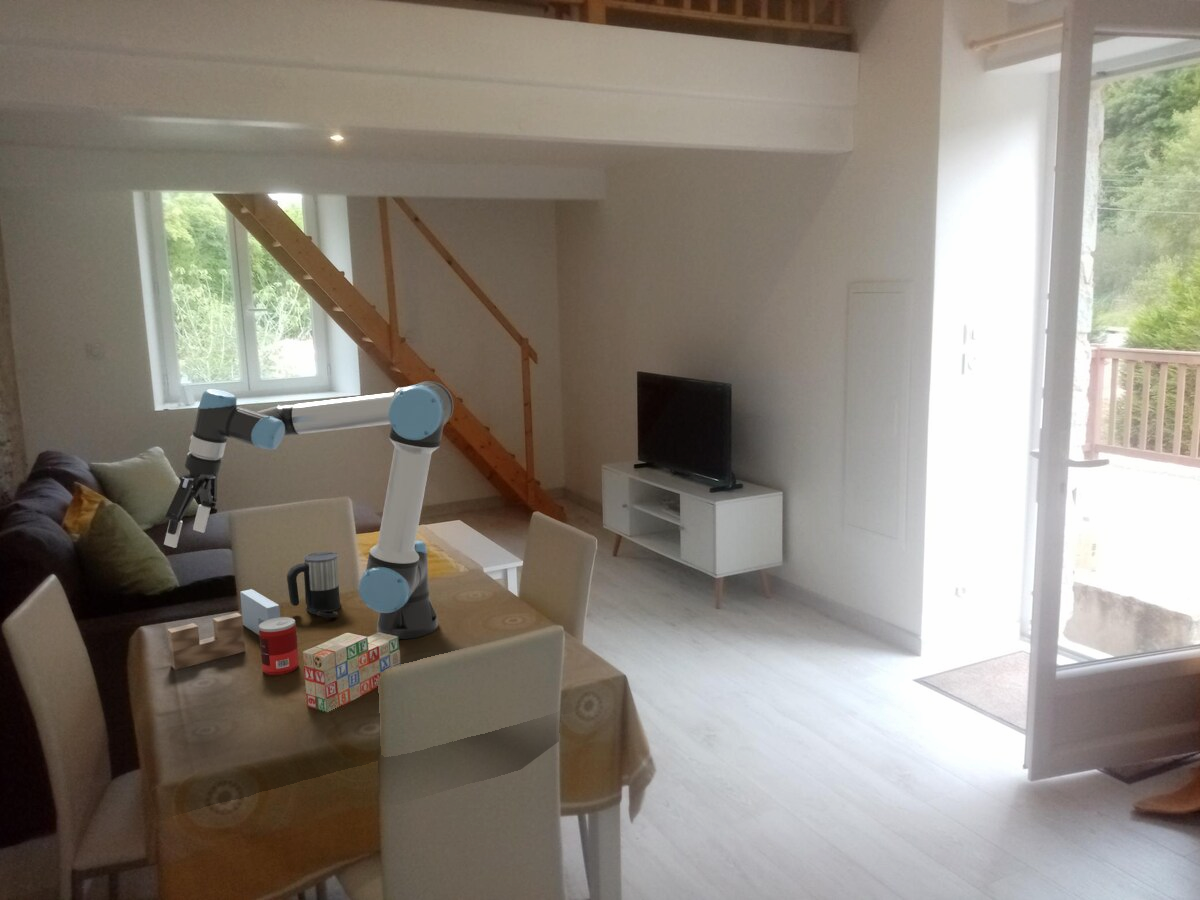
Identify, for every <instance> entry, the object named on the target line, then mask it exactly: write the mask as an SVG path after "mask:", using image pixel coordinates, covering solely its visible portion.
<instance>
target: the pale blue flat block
mask: <svg viewBox="0 0 1200 900" xmlns="http://www.w3.org/2000/svg"><path fill="white" fill-rule="evenodd" d="M239 592H240V595H239V596H240V605H241V607H240V608H241V615H242V621H243V627H244V626H245V627H246V628H247V629H249V630H250V631H252V633H255V634H256V635H258V636H259V625H260V624H261V623H262V622H264V621H266V620H269V619H273V618H280V617H281V612H280V611H281V610H280V605H279V604H278V603H277V602H275V601H273V600H271V599H269V598H268V597H266V596H264V595H262V594H261V593H259V592H258V591H256V590H254V589H252V588H250V589H246V590H242V591H239Z"/></svg>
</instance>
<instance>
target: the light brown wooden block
mask: <svg viewBox="0 0 1200 900" xmlns="http://www.w3.org/2000/svg"><path fill="white" fill-rule="evenodd" d="M212 623H213V624H212V625H213V634H214V636H212V637H211V636H210V637H207V638H204V639H200V635H199V634H200V633H199V626H198V625H197V624H196V623H194V622H192V623H187V624H185V625H180V626H176V627H171V628H168V629H167V639H168V649H169V658H170V659H169V660H170V666H171V667H172V668H173V669H174V671H177V670H181V669H184V668H188V667H191V666H195V665H199V664H203V663H207V662H210V661H214V660H218V659H221V658H225V657H229V656H232V655H236V654H241V653H245V652H246V646H245V634H244V625H243V618H242V614H240V613H239V612H233V613H230V614H226V615H225V614H224V615H222V616H221V615H220V616H217V617H213V618H212Z"/></svg>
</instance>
